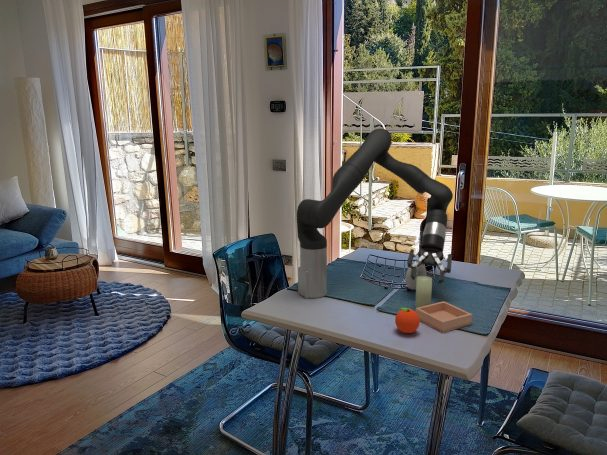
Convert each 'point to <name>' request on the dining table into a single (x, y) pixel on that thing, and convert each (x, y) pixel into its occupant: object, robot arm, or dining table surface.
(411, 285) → the donut
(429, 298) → the pale green cylinder
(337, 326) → the dining table surface
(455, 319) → the dish
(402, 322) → the clementine
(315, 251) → the robot arm
